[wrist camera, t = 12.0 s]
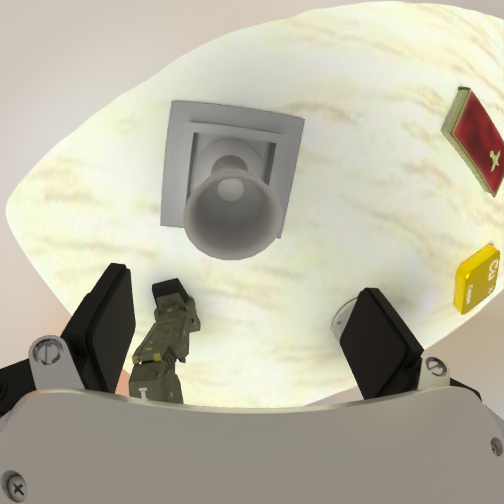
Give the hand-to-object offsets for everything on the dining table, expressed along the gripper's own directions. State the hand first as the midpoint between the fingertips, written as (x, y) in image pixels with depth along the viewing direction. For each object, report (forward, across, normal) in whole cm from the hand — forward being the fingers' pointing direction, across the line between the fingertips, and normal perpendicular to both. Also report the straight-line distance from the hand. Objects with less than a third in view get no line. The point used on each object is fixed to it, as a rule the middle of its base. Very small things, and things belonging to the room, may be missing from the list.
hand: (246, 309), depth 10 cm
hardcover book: (+31, -46, -18) cm, 58 cm away
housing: (+30, +1, 0) cm, 30 cm away
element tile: (+31, -63, +12) cm, 72 cm away
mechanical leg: (+30, +7, +24) cm, 39 cm away
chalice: (+29, 0, 0) cm, 29 cm away
